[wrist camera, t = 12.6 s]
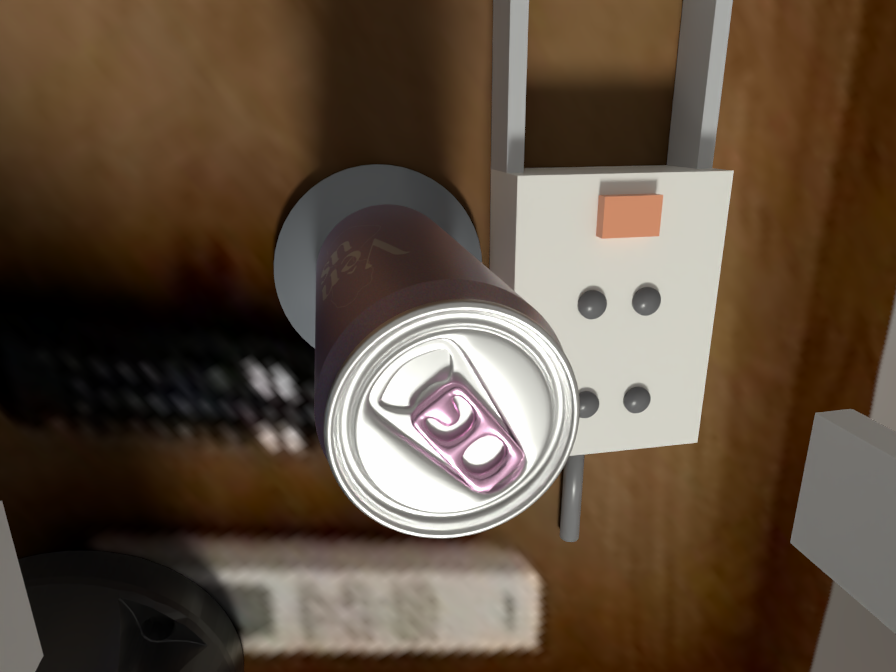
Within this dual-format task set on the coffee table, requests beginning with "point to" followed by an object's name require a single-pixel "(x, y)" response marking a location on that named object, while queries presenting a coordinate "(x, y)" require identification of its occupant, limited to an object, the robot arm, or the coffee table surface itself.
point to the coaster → (336, 203)
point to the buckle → (618, 250)
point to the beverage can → (434, 380)
